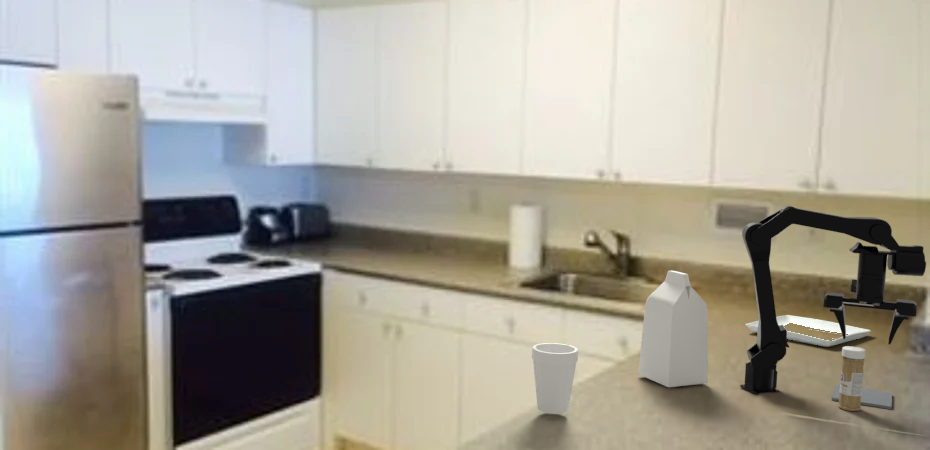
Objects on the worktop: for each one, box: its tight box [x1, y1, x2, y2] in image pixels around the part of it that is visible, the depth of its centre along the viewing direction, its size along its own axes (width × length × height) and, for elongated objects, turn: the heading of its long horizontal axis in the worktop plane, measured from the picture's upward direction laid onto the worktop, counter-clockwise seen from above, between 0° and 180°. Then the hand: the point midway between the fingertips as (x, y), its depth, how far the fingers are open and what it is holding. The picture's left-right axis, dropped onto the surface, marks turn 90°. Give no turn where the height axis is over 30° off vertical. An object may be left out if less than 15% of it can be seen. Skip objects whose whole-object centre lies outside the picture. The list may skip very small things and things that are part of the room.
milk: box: [637, 270, 709, 388], centre depth 199 cm, size 12×12×26 cm
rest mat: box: [831, 384, 893, 410], centre depth 188 cm, size 12×12×1 cm
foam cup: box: [531, 342, 579, 415], centre depth 173 cm, size 10×9×13 cm
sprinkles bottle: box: [838, 345, 866, 412], centre depth 180 cm, size 5×5×13 cm
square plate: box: [744, 314, 872, 348], centre depth 252 cm, size 27×27×4 cm
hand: (866, 341), depth 188 cm, fingers open, 9 cm apart
